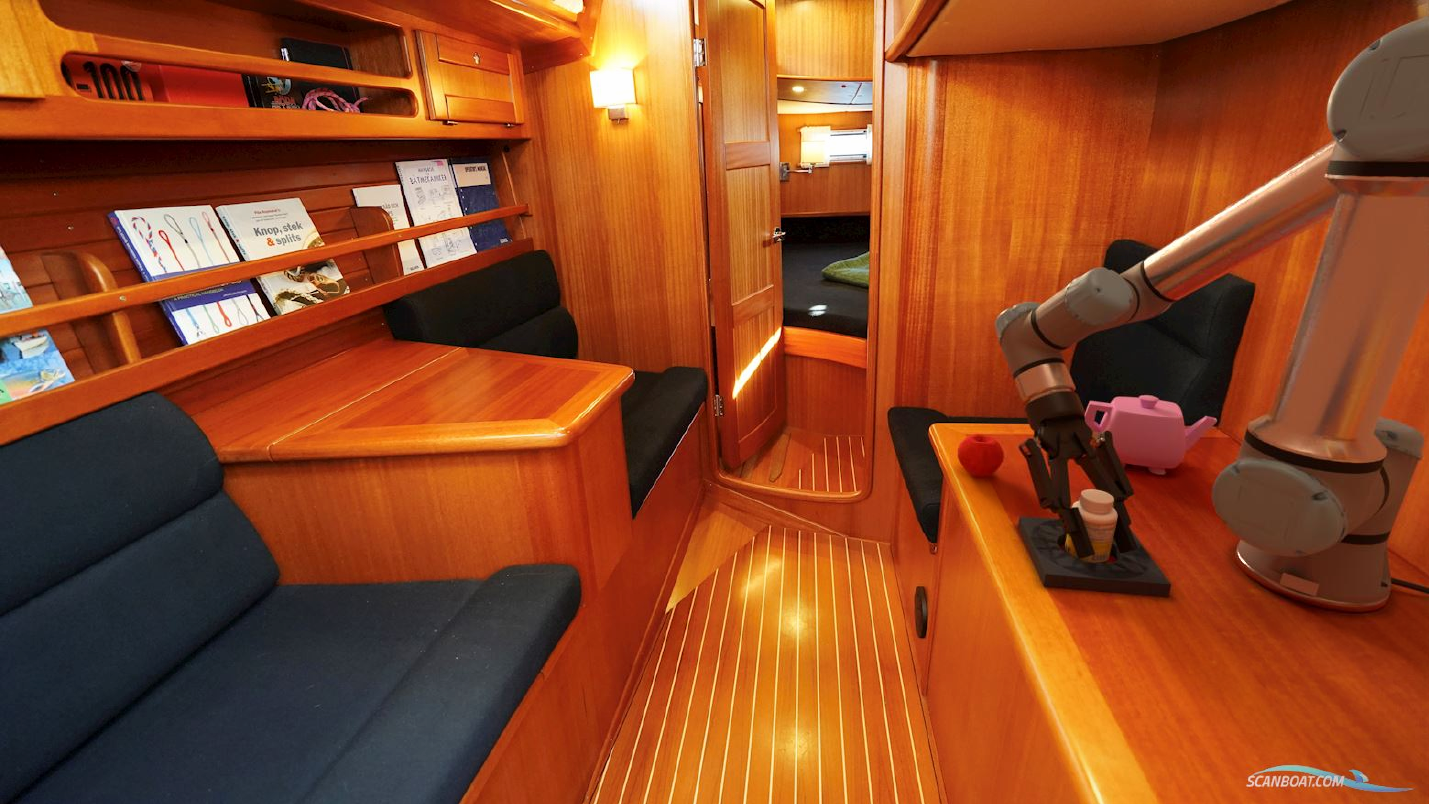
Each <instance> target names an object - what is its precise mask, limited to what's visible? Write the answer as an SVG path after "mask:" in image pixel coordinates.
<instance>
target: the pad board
mask: <svg viewBox="0 0 1429 804" xmlns="http://www.w3.org/2000/svg"><path fill="white" fill-rule="evenodd" d="M1017 522H1018V523H1017V529H1018V531H1019V533H1020V535H1021V536H1020V537H1021V538H1022V540H1023V543H1024V545H1025V548H1026V550H1027V552H1028V554H1029V556H1030V559H1031V561H1032V563H1033V565H1034V568H1035V570H1036V572H1037V574H1038V576H1039V579H1040V581H1041V584H1042V586H1043V588H1045V587H1047V588H1056V589H1071V590H1080V591H1081V590H1082V591H1094V592H1104V593H1115V594H1116V593H1117V594H1128V595H1129V594H1130V595H1139V596H1152V597H1161V598H1162V597H1164V598H1168V597H1169V596H1170V593H1171V588H1172V583H1171V582H1170V580H1169V578H1167V576H1166V575H1165V574H1164V572H1163V571H1162V569H1161V568H1160V567H1159V565H1158V564H1157V563H1156V561H1155V560H1154V558H1153V557H1152V556H1151V555H1150V553H1149V552H1148V551H1147V549H1146V548H1145V546H1144V545H1143V544H1142V542H1141V541H1140V540H1139V538H1138V536H1137V535H1135V533H1134V531H1133V530H1132V529H1131V528H1130V530H1131V532H1132V535H1133V537H1134V540H1135V542H1136V545H1137V547H1138V549H1136V550H1132V551H1129V552H1126V553H1120V552H1119V550H1118V547H1117V545H1116V542H1115V539H1114V537H1113V541H1112V546H1111V551H1110V556H1111V557H1112V558H1113V559H1114V560H1115V561H1114V562H1108V563H1107V564H1100V563H1090V562H1086V561H1083V560H1079V559H1077V558H1075V557H1072V556H1070V555H1068V554H1067V553H1065V551H1064V549H1062V548H1061V546H1063V545H1064V546H1065V543H1066V538H1067V534H1066V533H1065V532H1064V531H1063V528H1062V525H1061V522H1060V520H1059V518H1053V517H1040V516H1039V517H1036V516H1022V515H1020V516H1019V517H1018V521H1017ZM1169 598H1170V597H1169Z"/></svg>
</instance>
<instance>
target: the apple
mask: <svg viewBox="0 0 1429 804" xmlns="http://www.w3.org/2000/svg"><path fill="white" fill-rule="evenodd" d="M957 459H958V461H959V464H960V465H961V466H962V468H964V470H965V471H966V472H967V473H968V474H969V475H971V476H973V477H977V478H988V477H990V476H992V475H993V474H994V473H995V472H996V471H998V469H999V468H1000V467H1001V466H1002V464H1003V462H1004V459H1005V452H1004V450H1003V447H1002V446H1001V443H1000V442H999V441H998V440H997V439H995V438H993V437H991V436H989V435H985V434H981V433H977V434H972V435H969V436H967V437H965V438H964V439H963V440H962V441H961V442H960V444H959V445H958V448H957Z"/></svg>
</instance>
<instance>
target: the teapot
mask: <svg viewBox="0 0 1429 804" xmlns="http://www.w3.org/2000/svg"><path fill="white" fill-rule="evenodd" d="M1098 411H1099V412H1104V414H1103V417H1102V419H1101V421H1100V424H1099V423H1098V422H1096V421H1095V419H1096V415H1097V412H1098ZM1183 415H1184V414H1183V412H1182V410H1181V407H1180V406H1179V405H1178V404H1177V403H1175V402H1173V401H1172V402H1171V401H1167V400H1160V398H1158V397H1156V396H1154V395H1149V394H1144V395H1139V396H1138V397H1135V396H1134V397H1133V396H1116V397H1114V398H1113V399H1112V400H1111V402H1110V403H1109V402H1102V401H1096V400H1095V401H1094V400H1089V403H1088V404H1087V407H1086V410H1085V422H1086V423H1087V425H1088V426H1089V427H1090V428H1091V429H1092V431H1095V432H1100V433H1103V432H1105V431H1110V432H1111V433H1112V436H1113V446H1114V448H1115V450H1116V452H1117V455H1118V457H1119V459H1120V461H1121V463H1122V466H1123V468H1124V469H1125V468H1126V465H1127V464H1128V465H1132V466H1133V465H1134V466H1138V467H1139V466H1140V467H1146V468H1148V471H1149V472H1150V473H1151V474H1155V475H1161V476H1162V475H1165V474H1166V473H1167V472H1166V470H1165V469H1176V468H1177V467H1178V466H1180V464H1181V463H1182V462H1183V461H1184V459H1185V454H1186V452H1187V451H1189V450H1190V449H1191V448H1192V447H1193V446H1194V445H1195V444H1196V443H1197V442H1198V441H1199V440H1200V439H1201V438H1202V437H1204V435H1205V434H1206V433H1207V432H1208V431H1209V430H1211V428H1212V427H1213V426H1215V424H1217V422H1218V420H1217V418H1216V417H1212V416H1208V415H1204V417H1203V418H1201V419H1199V420H1198V421H1196V422H1194V423H1193V424H1192V425H1190V426H1189V427H1188V428H1186V426H1185V421H1184V420H1185V419H1184V416H1183Z"/></svg>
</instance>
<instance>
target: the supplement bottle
mask: <svg viewBox="0 0 1429 804" xmlns="http://www.w3.org/2000/svg"><path fill="white" fill-rule="evenodd" d="M1113 502H1114V498H1113V496H1112V495H1110V494H1109V493H1107V492H1104V491H1101V490H1097V489H1096V488H1095V489H1093V488H1088V489H1083V490H1082V491H1080V496H1079V500H1077V501H1075V502H1074V503H1072V504H1071V508H1073V507H1078V508H1079V511H1080V514H1081V517H1082V519H1083V522H1084V525H1085V527H1086V530H1087V533H1088V535H1089V538H1090V541H1091V544H1092V546H1093V549H1094V552H1095V555H1092V556H1088V557H1085V558H1081V559H1079V560H1083V561H1086V562H1090V563H1100V564H1107V563H1109V559H1110V556H1111V555H1110V551H1111V546H1112V541H1113V537H1114V532H1115V527H1116V522H1117V517H1118V514H1117V512H1116V510H1115V509H1114V508H1113ZM1063 551H1064V552H1065V553H1067V554H1068V555H1070V556H1072V557H1075V558H1077V559H1078V557H1077V554H1076V551H1075V548H1074V545H1073V543H1072V540H1071V537H1070V534H1067V538H1066V543H1065V544H1064V549H1063Z"/></svg>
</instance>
